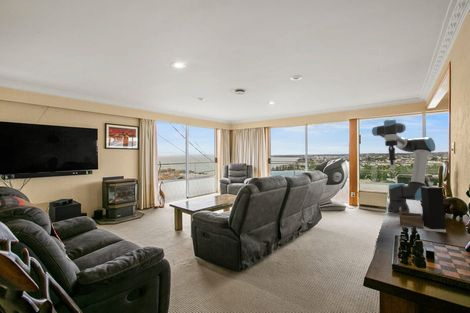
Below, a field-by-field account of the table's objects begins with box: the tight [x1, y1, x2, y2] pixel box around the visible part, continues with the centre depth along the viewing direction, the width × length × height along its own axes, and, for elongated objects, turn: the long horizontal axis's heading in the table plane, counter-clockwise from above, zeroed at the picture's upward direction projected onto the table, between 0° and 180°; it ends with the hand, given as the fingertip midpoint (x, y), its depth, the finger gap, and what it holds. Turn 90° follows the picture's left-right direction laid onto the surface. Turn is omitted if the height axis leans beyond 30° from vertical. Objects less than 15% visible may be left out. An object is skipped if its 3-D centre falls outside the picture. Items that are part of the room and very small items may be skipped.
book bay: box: [398, 207, 424, 228], centre depth 161 cm, size 13×12×10 cm
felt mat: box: [423, 225, 447, 233], centre depth 146 cm, size 10×10×1 cm
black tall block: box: [420, 181, 446, 230], centre depth 146 cm, size 8×8×28 cm
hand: (393, 169), depth 176 cm, fingers open, 13 cm apart
